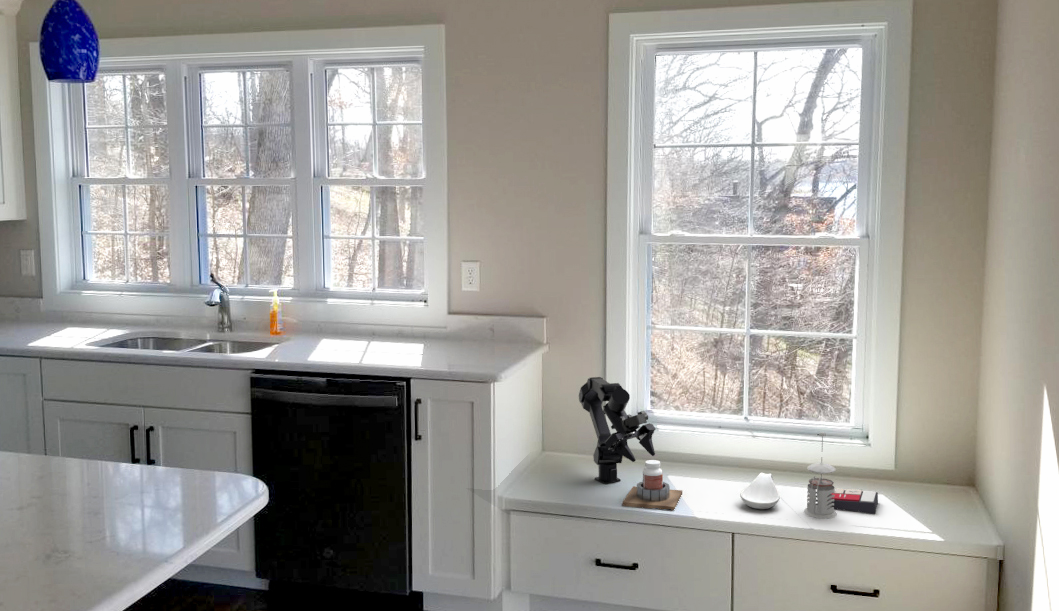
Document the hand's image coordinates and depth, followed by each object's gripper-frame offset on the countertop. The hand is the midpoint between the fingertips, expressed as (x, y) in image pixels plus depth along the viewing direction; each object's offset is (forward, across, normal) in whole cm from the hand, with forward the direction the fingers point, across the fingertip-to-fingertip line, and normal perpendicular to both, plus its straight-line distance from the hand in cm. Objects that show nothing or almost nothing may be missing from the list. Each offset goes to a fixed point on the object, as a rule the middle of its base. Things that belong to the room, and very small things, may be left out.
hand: (644, 458), depth 308 cm
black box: (+44, +39, -26) cm, 64 cm away
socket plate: (+12, 0, +6) cm, 13 cm away
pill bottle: (+11, 0, +6) cm, 12 cm away
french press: (+42, +26, -24) cm, 55 cm away
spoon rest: (+29, +24, -10) cm, 39 cm away
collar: (+11, 0, +5) cm, 12 cm away
